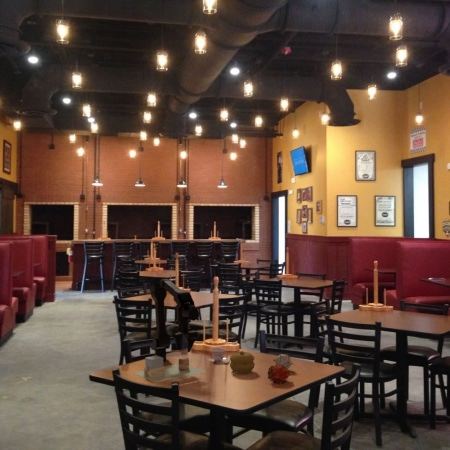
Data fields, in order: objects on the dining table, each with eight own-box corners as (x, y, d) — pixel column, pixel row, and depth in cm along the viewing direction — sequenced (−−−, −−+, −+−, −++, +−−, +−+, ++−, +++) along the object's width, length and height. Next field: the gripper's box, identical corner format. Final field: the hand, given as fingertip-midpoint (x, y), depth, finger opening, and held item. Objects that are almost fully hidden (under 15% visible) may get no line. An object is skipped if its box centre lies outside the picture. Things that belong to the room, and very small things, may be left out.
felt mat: (131, 373, 246) (131, 372, 246) (182, 364, 263) (182, 363, 263) (154, 383, 228) (154, 382, 228) (207, 372, 245) (207, 371, 245)
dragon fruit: (265, 388, 224) (286, 387, 231) (277, 379, 219) (298, 379, 226) (260, 369, 229) (280, 369, 236) (271, 360, 224) (292, 360, 231)
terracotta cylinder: (176, 369, 251) (176, 358, 251) (185, 367, 254) (185, 357, 254) (182, 371, 247) (182, 360, 247) (191, 369, 250) (190, 359, 250)
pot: (250, 368, 252) (250, 347, 252) (258, 374, 241) (257, 352, 241) (227, 370, 249) (226, 349, 250) (233, 376, 238) (233, 354, 238)
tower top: (145, 366, 241) (145, 357, 242) (156, 364, 245) (156, 355, 245) (151, 368, 237) (151, 359, 237) (163, 366, 240) (163, 357, 240)
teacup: (216, 358, 276) (215, 346, 276) (234, 360, 269) (234, 348, 269) (201, 362, 266) (201, 350, 266) (220, 365, 259) (220, 353, 259)
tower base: (144, 374, 241) (143, 366, 242) (157, 372, 246) (157, 363, 246) (151, 378, 236) (151, 369, 236) (164, 375, 240) (164, 366, 240)
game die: (283, 379, 245) (277, 365, 240) (274, 369, 252) (268, 355, 247) (298, 368, 247) (293, 354, 242) (289, 359, 255) (283, 344, 250)
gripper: (158, 317, 254) (159, 349, 253) (179, 322, 239) (179, 356, 238) (178, 315, 260) (178, 346, 260) (199, 319, 245) (199, 353, 245)
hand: (183, 350), depth 251 cm, fingers open, 9 cm apart
